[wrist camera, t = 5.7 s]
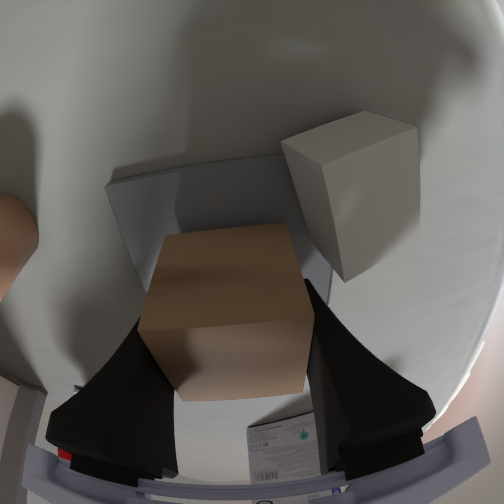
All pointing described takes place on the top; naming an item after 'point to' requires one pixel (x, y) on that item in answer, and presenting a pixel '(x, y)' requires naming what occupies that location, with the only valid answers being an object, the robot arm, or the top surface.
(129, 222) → the slate coaster
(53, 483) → the robot arm
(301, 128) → the top surface
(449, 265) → the top surface
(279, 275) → the walnut block
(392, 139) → the grey plastic box
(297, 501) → the ink cartridge box
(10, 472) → the cabinet
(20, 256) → the peach egg shape
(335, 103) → the top surface
